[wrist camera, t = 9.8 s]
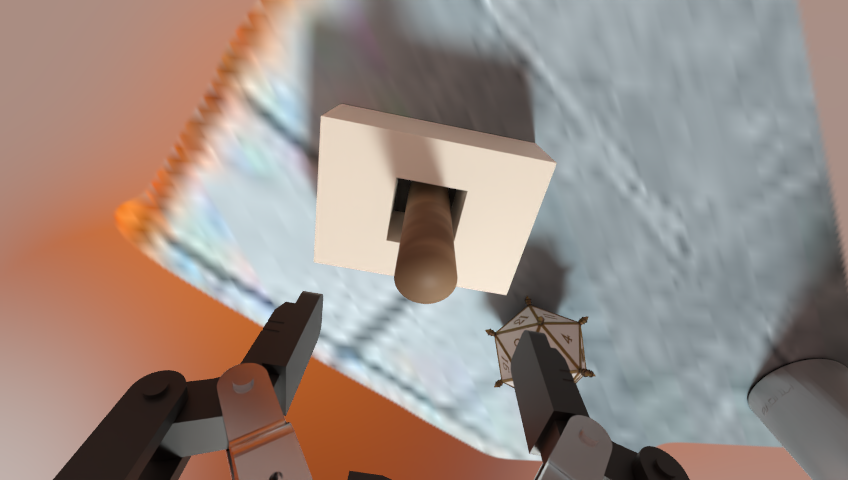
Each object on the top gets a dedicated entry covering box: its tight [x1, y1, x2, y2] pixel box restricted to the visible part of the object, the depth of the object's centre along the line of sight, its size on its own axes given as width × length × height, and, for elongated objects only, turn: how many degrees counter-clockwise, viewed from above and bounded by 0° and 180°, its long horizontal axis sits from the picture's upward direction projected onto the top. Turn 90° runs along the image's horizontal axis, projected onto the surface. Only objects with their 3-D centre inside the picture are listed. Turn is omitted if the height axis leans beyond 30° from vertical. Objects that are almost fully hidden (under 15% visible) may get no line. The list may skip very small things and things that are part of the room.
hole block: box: [314, 104, 557, 295], centre depth 25 cm, size 14×10×5 cm
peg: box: [394, 180, 458, 304], centre depth 22 cm, size 3×3×12 cm
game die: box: [485, 296, 595, 388], centre depth 30 cm, size 9×8×10 cm
